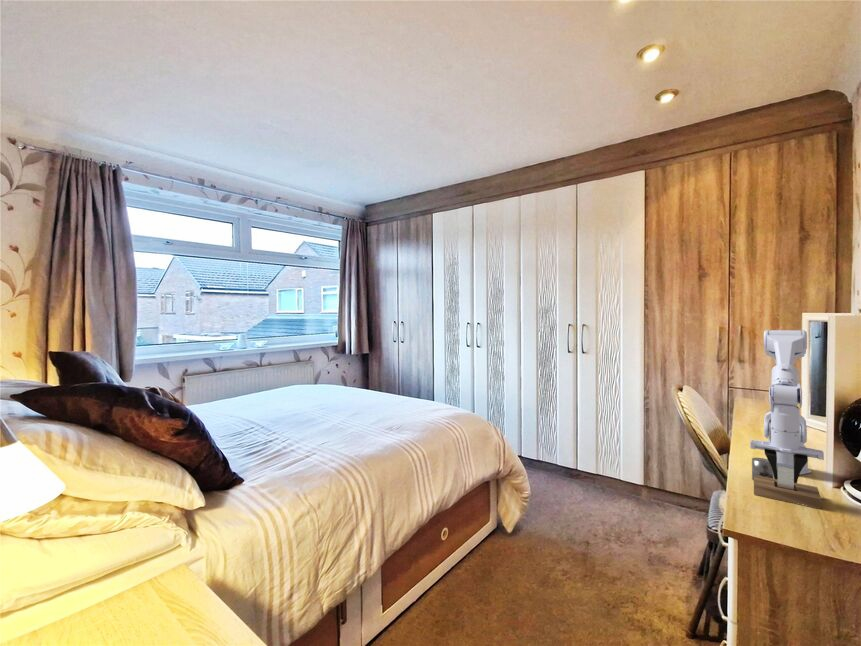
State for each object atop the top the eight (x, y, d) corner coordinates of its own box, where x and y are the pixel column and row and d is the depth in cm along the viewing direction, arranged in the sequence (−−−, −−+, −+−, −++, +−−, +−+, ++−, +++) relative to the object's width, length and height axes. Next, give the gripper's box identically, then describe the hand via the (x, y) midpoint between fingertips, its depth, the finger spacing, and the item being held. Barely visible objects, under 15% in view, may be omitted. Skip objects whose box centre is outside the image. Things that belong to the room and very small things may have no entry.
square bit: (777, 484, 107) (777, 462, 106) (792, 487, 105) (792, 465, 104) (777, 488, 104) (777, 466, 104) (793, 491, 102) (793, 469, 102)
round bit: (752, 476, 117) (752, 456, 117) (773, 480, 114) (773, 460, 114) (752, 481, 114) (752, 461, 113) (773, 485, 110) (773, 464, 110)
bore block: (753, 483, 112) (753, 474, 112) (816, 496, 104) (816, 487, 104) (753, 494, 105) (753, 485, 105) (821, 509, 97) (821, 499, 97)
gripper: (750, 428, 106) (750, 477, 106) (825, 438, 97) (825, 492, 97) (750, 422, 111) (750, 469, 111) (821, 431, 102) (821, 483, 102)
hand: (785, 479), depth 104 cm, fingers closed on square bit, 3 cm apart
